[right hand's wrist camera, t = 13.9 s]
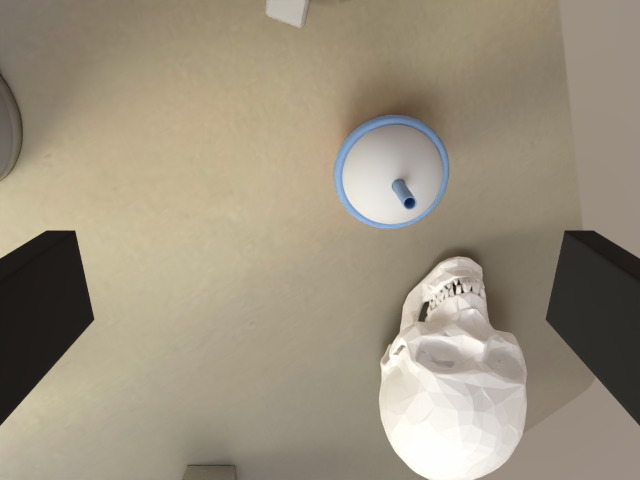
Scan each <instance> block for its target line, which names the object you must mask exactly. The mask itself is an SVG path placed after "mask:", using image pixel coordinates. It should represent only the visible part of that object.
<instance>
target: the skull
mask: <svg viewBox="0 0 640 480" xmlns="http://www.w3.org/2000/svg"><path fill="white" fill-rule="evenodd" d="M482 277H483V273H482V268H481V267H480V266H479V265H478V264H477V263H475V262H474V261H473V260H471V259H470V258H467V257H459V256H458V257H453V258H448V259H446V260H444V261H442V262H440V263H439V264H438V265H437V266H436V267H435V268H434V269H433V270H432V271H431V272H430V273H429V274H428V275H427V276H426V277H425V278H424V279H423V280H422V281H421V282H420V283H419V284H418V285H417V286H416V287H415V288H414V289H413V290H412V291H411V292H410V293H409V294H408V296H407V299H406V301H405V303H404V306H403V312H402V322H401V325H400V333H399V334H398V336H397V337H396V339H395V340H394V342H393V344H389V346H388V348H387V350H386V353H385V355H384V356H383V357H382V359H381V361H380V363H381V369H382V382H381V387H380V395H379V405H380V414H381V419H382V423H383V426H384V429H385V432H386V434H387V437H388V439H389V441H390V443H391V445H392V447H393V449H394V451H395V452H396V453H397V454H398V455H399V456H400V458H401V459H402V460H403V461H404V462H405V463H406V464H407V465H408V466H409V467H410V468H411V469H412V470H413V471H415V472H416V473H417V474H419V475H421V476H423V477H425V478H427V479H430V480H474V479H477V478H479V477H482V476H484V475H486V474H488V473H490V472H492V471H494V470H495V469H497V468H499V467H500V466H501V465H502V464H503V463H505V462H506V461H507V460H508V458H509V457H510V456H511V454H512V453H513V451H514V449H515V447H516V446H517V444H518V442H519V441H520V438H521V437H522V434H523V429H524V425H525V417H526V408H527V402H526V387H525V383H526V378H527V370H526V365H525V361H524V357H523V353H522V350H521V348H520V346H519V344H518V342H517V340H516V338H515V337H514V336H513V334H512V333H509V332H502V331H498V330H494V329H493V327H492V326H491V324H490V323H489V318H488V312H487V303H486V294H485V292H484V288H485V286H484V284H483V281H482ZM458 280H460V284H462V288H463V291H464V293H463V294H461V285H457V283H458ZM452 283H455V285H456V295H454V292H453V286H452ZM471 286H472V291H471V292H470V289H471ZM446 287H448V288H449V290H450V291H448V289H447V290H446ZM449 295H450V296H449ZM444 297H445V299H444ZM432 300H433V301H432ZM427 301H430V302H429V307H428V310H427V314H428V316H427V317H426V318H425V322H418V319H419V316H420V313H421V310H422V307H423V304H424V303H425V302H427Z"/></svg>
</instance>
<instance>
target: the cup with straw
mask: <svg viewBox="0 0 640 480" xmlns="http://www.w3.org/2000/svg"><path fill="white" fill-rule="evenodd" d="M448 178H449V160H448V155H447V152H446V149H445V147H444V145H443V143H442V141H441V139H440V138H439V136H438V135H437V134H436V133H435V132H434V131H433V130H432V129H431V128H430V127H429V126H428V125H426V124H425V123H423V122H421V121H419V120H417V119H415V118H412V117H409V116H405V115H384V116H379V117H376V118H373V119H371V120H368V121H366V122H364V123H363V124H361V125H360V126H358V127H357V128H356V129H355V130H353V131H352V132H351V133H350V134H349V136H348V137H347V138H346V139H345V141H344V142H343V144H342V145H341V147H340V149H339V151H338V154H337V157H336V160H335V164H334V184H335V189H336V192H337V195H338V197H339V199H340V201H341V203H342V204H343V206H344V207H345V208H346V210H347V211H348V212H349V213H350V214H351V215H352V216H353V217H355V218H356V219H358V220H359V221H361V222H363V223H365V224H367V225H369V226H373V227H376V228H383V229H395V228H401V227H405V226H408V225H411V224H413V223H415V222H417V221H419V220H421V219H422V218H424V217H425V216H426V215H427V214H429V213H430V212H431V211H432V210H433V209H434V208H435V206H436V205H437V204H438V202H439V201H440V200H441V198H442V196H443V194H444V192H445V189H446V186H447V183H448Z"/></svg>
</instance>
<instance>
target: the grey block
mask: <svg viewBox="0 0 640 480" xmlns="http://www.w3.org/2000/svg"><path fill="white" fill-rule="evenodd" d="M183 480H236V476H235V466H187V468H186V471H185V474H184V477H183Z"/></svg>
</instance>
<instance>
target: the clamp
mask: <svg viewBox="0 0 640 480" xmlns="http://www.w3.org/2000/svg"><path fill="white" fill-rule="evenodd" d="M309 4H310V0H266V5H265V12H266V14H267V15H268V16H269V17H270V18H273V19H276V20H278V21H281V22H284V23H287V24H290V25H292V26H295V27H298V28H302V27H303V26H304V25H305V23H306V18H307V12H308V8H309Z"/></svg>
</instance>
